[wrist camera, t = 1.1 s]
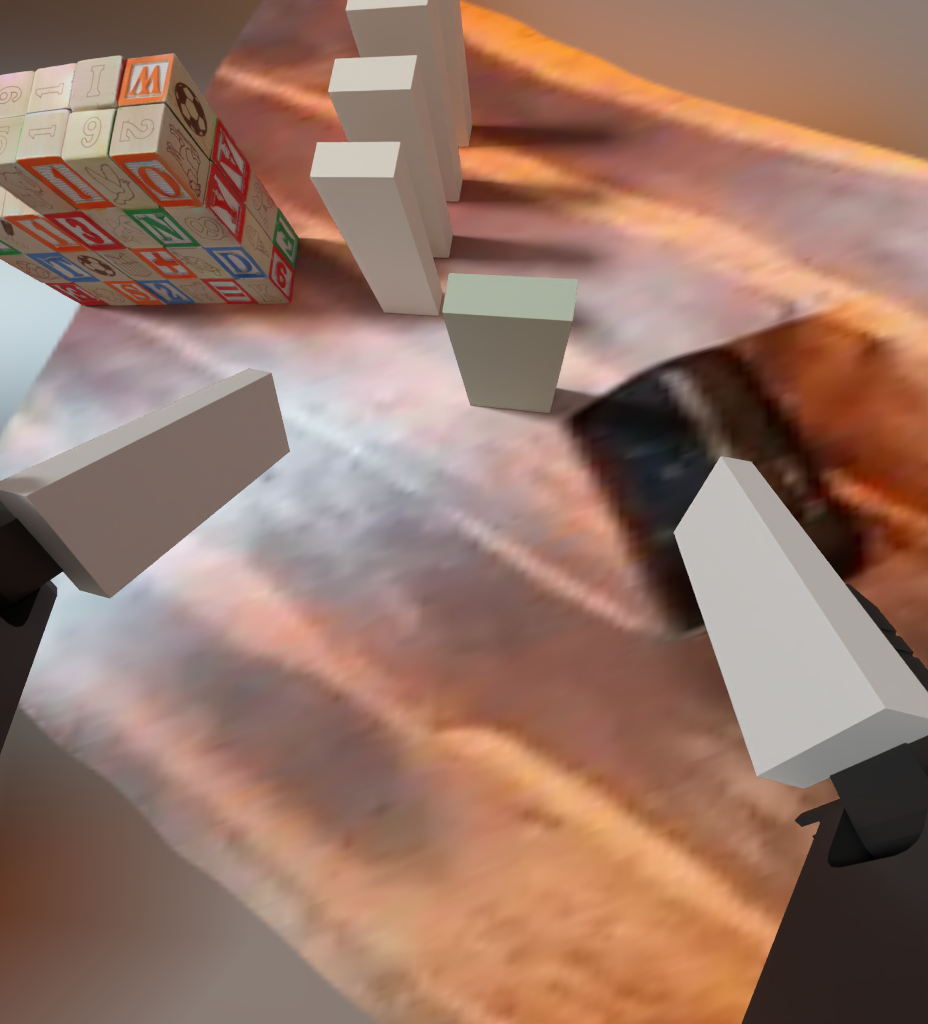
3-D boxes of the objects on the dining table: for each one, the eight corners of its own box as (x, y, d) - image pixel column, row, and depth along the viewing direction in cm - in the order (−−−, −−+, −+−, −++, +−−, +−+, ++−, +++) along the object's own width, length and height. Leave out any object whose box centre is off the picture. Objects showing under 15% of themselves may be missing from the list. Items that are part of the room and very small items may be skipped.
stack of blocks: (83, 309, 35) (-150, 177, 22) (95, 247, 35) (-126, 87, 23) (293, 304, 31) (153, 148, 19) (302, 237, 32) (172, 45, 20)
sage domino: (549, 413, 27) (572, 321, 16) (470, 405, 28) (442, 312, 17) (553, 387, 27) (578, 279, 17) (474, 380, 28) (449, 273, 17)
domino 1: (458, 201, 30) (427, 5, 19) (405, 200, 31) (345, 10, 20) (462, 179, 30) (433, -28, 19) (409, 179, 31) (352, -21, 20)
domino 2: (448, 257, 30) (410, 89, 19) (394, 255, 30) (328, 91, 20) (452, 235, 30) (417, 55, 19) (399, 233, 31) (335, 58, 20)
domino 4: (468, 146, 31) (442, -76, 20) (415, 147, 31) (362, -68, 20) (472, 125, 31) (448, -108, 20) (419, 126, 31) (368, -98, 21)
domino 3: (438, 316, 29) (393, 177, 18) (384, 312, 30) (309, 177, 19) (442, 292, 29) (400, 141, 19) (388, 289, 30) (317, 142, 19)
